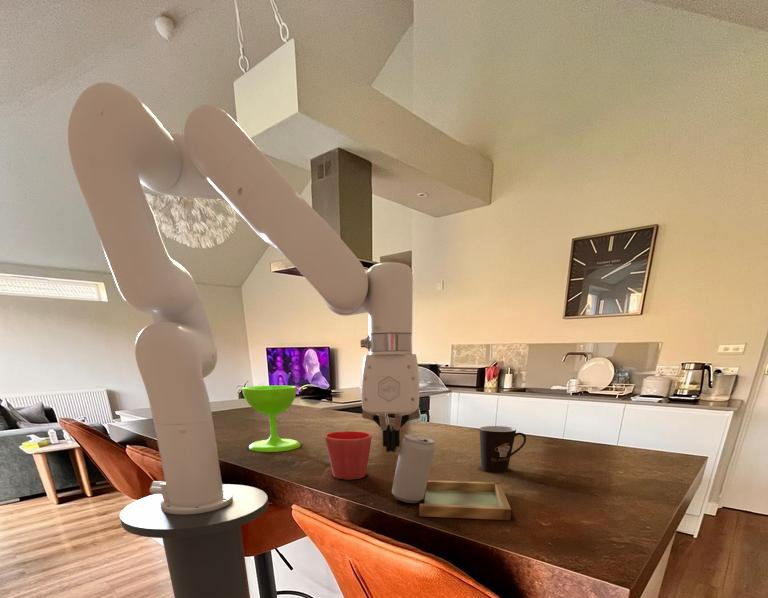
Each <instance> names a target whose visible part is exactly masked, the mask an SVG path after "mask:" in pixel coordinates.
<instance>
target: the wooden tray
mask: <svg viewBox="0 0 768 598" xmlns="http://www.w3.org/2000/svg"><path fill="white" fill-rule="evenodd" d="M423 500H424V501H423V503H419V511H418V512H419V513H418V514H419V517H428V518H447V519H448V518H450V519H451V518H452V519H473V520H474V519H475V520H497V521H511V518H512V517H511V516H512V508H511V506H510V503H509V501H508V499H507V496H506V493H505V491H504V489H503V486H502V484H501V482H498V481H497V482H495V481H465V480H433V479H431V480H430V479H428V481H427V486H426V490H425V494H424V499H423Z"/></svg>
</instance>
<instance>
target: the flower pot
mask: <svg viewBox="0 0 768 598" xmlns="http://www.w3.org/2000/svg"><path fill="white" fill-rule="evenodd" d="M324 438H325V443H326V449H327V454H328V459H329V463H330V468H331V471H332V475H333V477H334V478H336V479H339V480H348V481H349V480H351V481H352V480H358V479H362V478H364V477H366V474H367V471H368V470H367V469H368V465H369V464H368V463H369V459H370V458H369V457H370V450H371V446H372V445H371V444H372V434H371V433H370V432H365V431H356V430H355V431H354V430H347V431H345V430H344V431H333V432H328V433H326V434H325V436H324Z"/></svg>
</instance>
